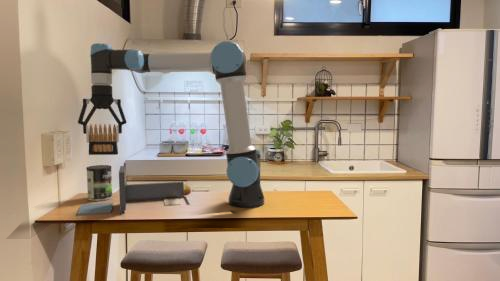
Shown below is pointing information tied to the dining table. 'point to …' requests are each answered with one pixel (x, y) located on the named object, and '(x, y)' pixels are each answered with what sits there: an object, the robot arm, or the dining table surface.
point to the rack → (147, 191)
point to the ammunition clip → (102, 141)
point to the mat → (95, 208)
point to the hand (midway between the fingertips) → (103, 142)
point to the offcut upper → (171, 202)
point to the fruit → (186, 189)
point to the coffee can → (99, 182)
